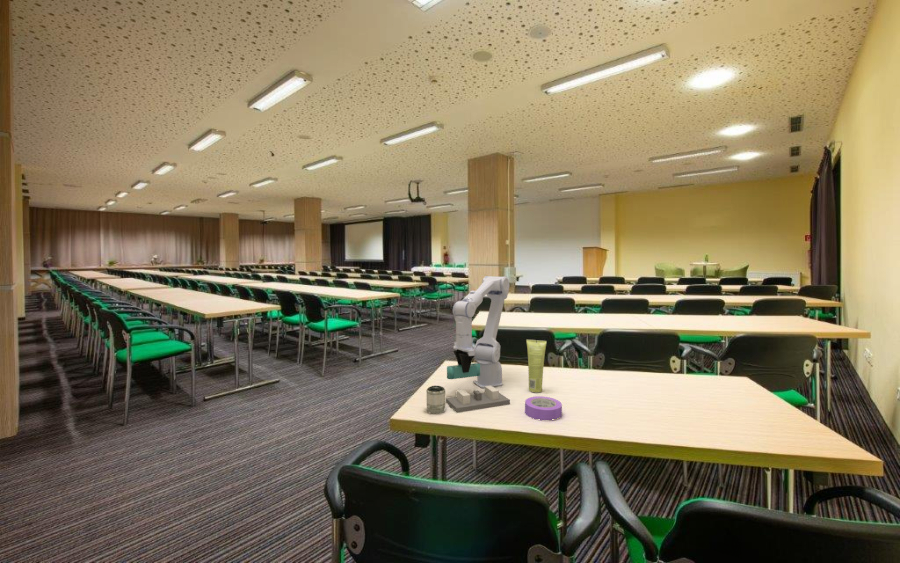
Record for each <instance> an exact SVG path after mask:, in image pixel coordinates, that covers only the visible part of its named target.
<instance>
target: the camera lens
mask: <svg viewBox="0 0 900 563" xmlns="http://www.w3.org/2000/svg"><path fill="white" fill-rule="evenodd" d="M445 408H446V389H445V387H443V386H441V385H431V386H429V387H428V388H427V389H426V409H427V412H428V413H429V412H430V414H433V413H435V414H436V413H438V414H442V413H444V412H445V410H446V409H445ZM436 415H437V414H436Z"/></svg>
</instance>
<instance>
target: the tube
mask: <svg viewBox="0 0 900 563" xmlns="http://www.w3.org/2000/svg"><path fill="white" fill-rule="evenodd" d="M525 341H526V347H527V360H528V361H527V362H528V363H527V364H528V366H527V367H528V390H529V392H531V393H542V390H543V378H544V365H545V364H544V363H545V354H546V347H547V340H536V339H526V340H525Z"/></svg>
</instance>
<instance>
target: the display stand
mask: <svg viewBox="0 0 900 563" xmlns="http://www.w3.org/2000/svg"><path fill="white" fill-rule="evenodd" d="M445 404H447V405H448V406H449V407H450V408H451V409H452V410H453V411H455V413H456V414H457V413H463V412H470V411H475V410H481V409H487V408H488V409H489V408H494V407H500V406H501V407H502V406H508V405H511V399H509V398H508V397H506V396H505V395H504V394H502V393H500V391H499V389H497V388H495V386H493V387H492V386H485V388H484V392H481V391H479V390H473V393H471V394H470V393H468V392H467V391H466V390H464V389H457V390H456V396H451V397H445Z"/></svg>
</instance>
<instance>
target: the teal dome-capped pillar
mask: <svg viewBox="0 0 900 563" xmlns="http://www.w3.org/2000/svg"><path fill="white" fill-rule="evenodd" d="M477 376H480V364H479V363H477V362H474V363H471V365H470V369H469V372H467V373H463V371H462V365H458V364H457V365H448V366H447V367H446V379H447V380H456V379H465V378H472V377H477Z"/></svg>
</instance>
